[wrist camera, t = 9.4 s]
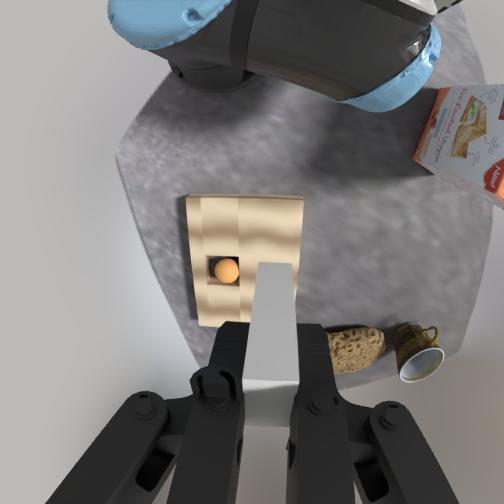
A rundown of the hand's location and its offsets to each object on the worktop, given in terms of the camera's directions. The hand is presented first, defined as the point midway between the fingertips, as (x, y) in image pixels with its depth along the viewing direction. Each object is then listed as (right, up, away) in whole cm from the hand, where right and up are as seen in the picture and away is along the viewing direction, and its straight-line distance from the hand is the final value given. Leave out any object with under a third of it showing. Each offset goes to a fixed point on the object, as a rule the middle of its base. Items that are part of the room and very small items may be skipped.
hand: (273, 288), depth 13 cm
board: (-2, 0, +33) cm, 33 cm away
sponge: (+15, -16, +40) cm, 45 cm away
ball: (-5, -1, +32) cm, 32 cm away
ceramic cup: (+32, -14, +37) cm, 51 cm away
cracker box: (+28, +21, +20) cm, 41 cm away
